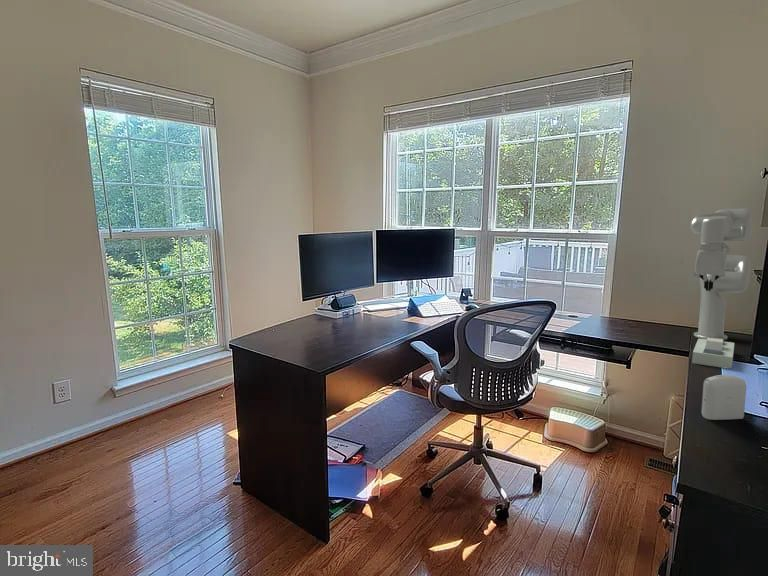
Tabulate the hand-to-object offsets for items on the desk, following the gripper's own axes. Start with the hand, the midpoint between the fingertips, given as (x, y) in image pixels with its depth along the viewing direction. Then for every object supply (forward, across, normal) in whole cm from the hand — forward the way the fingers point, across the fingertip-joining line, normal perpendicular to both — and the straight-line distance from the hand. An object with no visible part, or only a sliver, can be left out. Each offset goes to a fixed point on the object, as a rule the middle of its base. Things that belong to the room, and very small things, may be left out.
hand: (708, 290), depth 179 cm
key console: (+25, -4, +16) cm, 30 cm away
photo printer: (+22, -7, +79) cm, 82 cm away
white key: (+21, -4, +16) cm, 27 cm away
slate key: (+22, -4, +24) cm, 33 cm away
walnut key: (+23, -4, +8) cm, 25 cm away
